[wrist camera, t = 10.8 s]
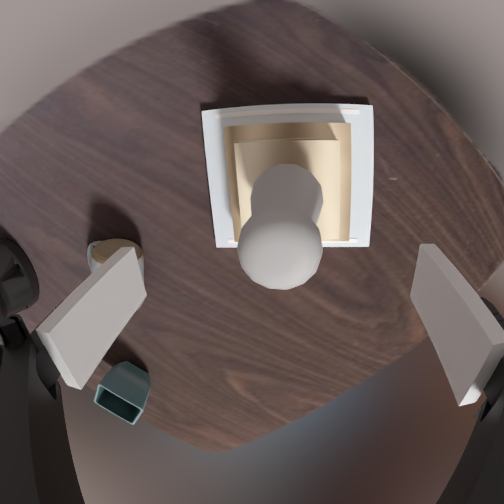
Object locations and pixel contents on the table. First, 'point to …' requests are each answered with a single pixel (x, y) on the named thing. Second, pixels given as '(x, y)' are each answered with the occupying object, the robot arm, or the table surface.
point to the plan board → (283, 114)
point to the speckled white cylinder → (107, 248)
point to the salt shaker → (282, 228)
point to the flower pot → (124, 391)
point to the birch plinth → (289, 132)
